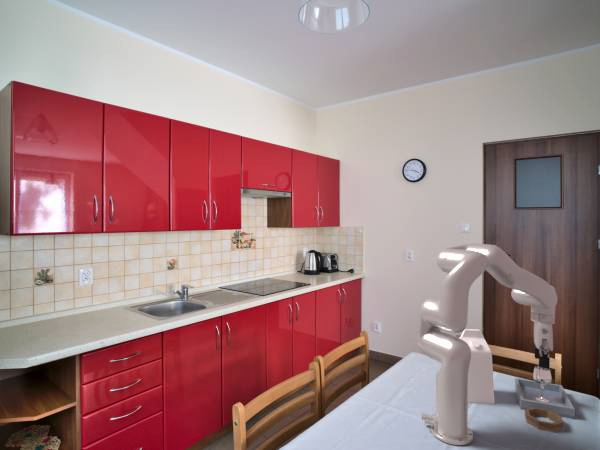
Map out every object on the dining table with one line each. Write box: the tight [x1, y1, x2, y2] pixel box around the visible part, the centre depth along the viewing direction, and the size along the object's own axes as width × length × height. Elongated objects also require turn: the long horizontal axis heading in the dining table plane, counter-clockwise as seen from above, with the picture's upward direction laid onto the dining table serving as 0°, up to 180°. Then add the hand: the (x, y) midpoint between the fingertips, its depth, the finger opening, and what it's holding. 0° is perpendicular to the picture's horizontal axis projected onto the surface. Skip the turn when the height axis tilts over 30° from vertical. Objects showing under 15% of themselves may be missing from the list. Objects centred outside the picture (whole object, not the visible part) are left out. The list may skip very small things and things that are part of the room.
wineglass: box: [532, 365, 552, 403], centre depth 137 cm, size 6×6×12 cm
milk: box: [459, 328, 495, 405], centre depth 143 cm, size 12×12×26 cm
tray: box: [514, 377, 575, 420], centre depth 138 cm, size 16×20×4 cm
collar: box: [524, 407, 565, 433], centre depth 124 cm, size 10×10×2 cm
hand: (541, 362), depth 137 cm, fingers open, 9 cm apart
